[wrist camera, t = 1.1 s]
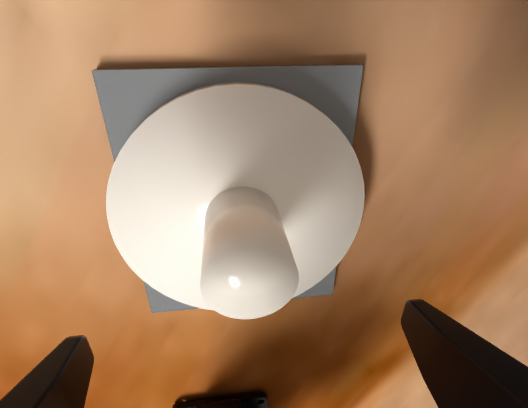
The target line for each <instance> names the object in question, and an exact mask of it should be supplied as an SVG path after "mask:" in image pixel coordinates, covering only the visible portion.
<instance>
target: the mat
mask: <svg viewBox="0 0 528 408" xmlns="http://www.w3.org/2000/svg"><path fill="white" fill-rule="evenodd" d="M362 72H363V65H360V64H357V65H302V66H248V67H193V68H139V69H95V70H92V74H93V78H94V82H95V86H96V90H97V94H98V98H99V102H100V106H101V110H102V114H103V118H104V122H105V126H106V130H107V134H108V138H109V142H110V146H111V150H112V154H113V158H114V162H115V160H116V158H117V156H118V154H119V152H120V150H121V149H122V147H123V146H124V144H125V143H126V141H127V140H128V139H129V137H130V136H131V134H132V133H133V132H134V131H135V130H136V129H137V128H138V126H139V125H140V124H141V123H142V122H143V121H144V120H145V119H146V118H147V117H148V116H149V115H150V114H152V113H153V112H154V111H155V110H157V109H158V108H159V107H161V106H162V105H163V104H165V103H167V102H168V101H170V100H172V99H174V98H175V97H177V96H179V95H181V94H184V93H186V92H189V91H192V90H194V89H197V88H201V87H205V86H209V85H213V84H220V83H231V82H242V83H256V84H262V85H267V86H272V87H275V88H278V89H281V90H284V91H287V92H290V93H292V94H294V95H296V96H298V97H300V98H301V99H303V100H305V101H307V102H308V103H310V104H311V105H312V106H314V107H315V108H317V109H318V110H319V111H321V112H322V113H323V114H325V115H326V116H327V117H328V118H329V119H330V120H331V121H332V122H333V123H334V124H335V125H336V126H337V127H338V128H339V129H340V130H341V131H342V133H343V134H344V135H345V137H346V138H347V139H348V141H349V142H350V144H351V146H352V147H353V139H354V132H355V124H356V117H357V109H358V102H359V94H360V87H361V79H362ZM335 274H336V267H335V268H334V269H333V270H332V271H331V272H330V273H329V274H328V275H327V276H326V277H325V278H323V279H322V280H321V281H320V282H318V283H317V284H316V285H314V286H313V287H311V288H310V289H308V290H306V291H305V292H303V293H301V294H300V295H298V296H296V297H293V298H291V299H294V298H304V297H314V296H323V295H333V288H334V281H335ZM144 284H145V288H146V292H147V296H148V300H149V304H150V308H151V312H152V313H157V312H167V311H177V310H186V309H196V308H198V307H194V306H190V305H187V304H184V303H181V302H178V301H176V300H174V299H172V298H169V297H167V296H165V295H163V294H162V293H160V292H159V291H157V290H155V289H154V288H152V287H151V286H150V285H148V284H147V283H146V282H144Z"/></svg>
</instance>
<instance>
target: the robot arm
mask: <svg viewBox="0 0 528 408" xmlns="http://www.w3.org/2000/svg"><path fill="white" fill-rule="evenodd" d="M401 325H402V329H403V331H404V334H405V336H406V338H407V341H408V343H409V346H410V348H411V350H412V353H413V355H414V358H415V360H416V363H417V365H418V367H419V370H420V372H421V374H422V377H423V379H424V381H425V383H426V385H427V387H428V389H429V391H430V393H431V394H432V396H433V398H434V400H435V402H436V404H437V406H438V408H528V367H527V366H526V365H524V364H522V363H521V362H519V361H518V360H516V359H515V358H513V357H511V356H510V355H508V354H507V353H505V352H504V351H502V350H501V349H499V348H497V347H496V346H494V345H493V344H491V343H490V342H488V341H486V340H485V339H483V338H482V337H480V336H479V335H477V334H476V333H474V332H472V331H471V330H469V329H468V328H466V327H465V326H463V325H461V324H460V323H458V322H457V321H455V320H454V319H452V318H451V317H449V316H447V315H446V314H444V313H443V312H441V311H440V310H438V309H436V308H435V307H433V306H432V305H430V304H429V303H427V302H426V301H424V300H422V299H414V300H408V301H407V302H406V304H405V307H404V311H403V314H402V318H401ZM93 363H94V356H93V353H92V350H91V348H90V345H89V343H88V340H87V338H86V337H85V336H84V335H78V336H70V337H67V338H66V339H64V340H63V341H62V342H61V343H60V344H59V345H58V346H57V347H56V348H55V349H54V350H53V351H52V352H51V353H50V354H48V355H47V356H46V357H45V358H44V359H43V360H42V361H41V362H40V363H39V364H38V365H37V366H36V367H35V368H34V369H33V370H32V371H31V372H30V373H28V374H27V375H26V376H25V377H24V378H23V379H22V380H21V381H20V382H19V383H18V384H17V385H16V386H15V387H14V388H13V389H12V390H11V391H10V392H8V393H7V394H6V395H5V396H4V397H3V398H2V399H1V400H0V408H84V405H85V401H86V396H87V391H88V387H89V382H90V378H91V373H92V368H93ZM173 408H268V397H267V393H265V392H255V393H247V394H240V395H233V396H225V397H218V398H210V399H203V400H195V401H188V402H180V403H176V404H174V405H173Z"/></svg>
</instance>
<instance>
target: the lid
mask: <svg viewBox="0 0 528 408" xmlns="http://www.w3.org/2000/svg"><path fill="white" fill-rule="evenodd" d="M364 200H365V192H364V180H363V175H362V170H361V167H360V164H359V161H358V158H357V156H356V153H355V152H354V150H353V148H352V146H351V144H350V142H349V141H348V139H347V138H346V137H345V135H344V134H343V133H342V131H341V130H340V129H339V128H338V127H337V126H336V125H335V124H334V123H333V122H332V121H331V120H330V119H329V118H328V117H327V116H326V115H325V114H323V113H322V112H321V111H319V110H318V109H317V108H315V107H314V106H312V105H311V104H310V103H308V102H307V101H305V100H303V99H301V98H300V97H298V96H296V95H294V94H292V93H290V92H287V91H284V90H281V89H278V88H275V87H272V86H267V85H262V84H256V83H242V82H231V83H220V84H213V85H209V86H205V87H201V88H197V89H194V90H192V91H189V92H186V93H184V94H181V95H179V96H177V97H175V98H174V99H172V100H170V101H168V102H167V103H165V104H163V105H162V106H161V107H159V108H158V109H157V110H155V111H154V112H153V113H152V114H150V115H149V116H148V117H147V118H146V119H145V120H144V121H143V122H142V123H141V124H140V125H139V126H138V128H137V129H136V130H135V131H134V132H133V133H132V134H131V136H130V137H129V139H128V140H127V141H126V143H125V144H124V146H123V147H122V149H121V150H120V152H119V154H118V156H117V158H116V160H115V162H114V165H113V167H112V170H111V174H110V177H109V180H108V186H107V194H106V213H107V219H108V224H109V229H110V232H111V235H112V237H113V240H114V243H115V245H116V247H117V248H118V250H119V252H120V254H121V256H122V257H123V259H124V260H125V261H126V263H127V264H128V265H129V267H130V268H131V269H132V270H133V271H134V272H135V273H136V274H137V275H138V276H139V277H140V278H141V279H142V280H143V281H144V282H146V283H147V284H148V285H150V286H151V287H152V288H154V289H155V290H157V291H159V292H160V293H162V294H163V295H165V296H167V297H169V298H172V299H174V300H176V301H178V302H181V303H184V304H187V305H190V306H194V307H198V308H202V309H208V310H215V311H216V312H218V313H220V314H222V315H224V316H227V317H230V318H235V319H255V318H260V317H264V316H267V315H269V314H272V313H274V312H276V311H277V310H279V309H281V308H282V307H283V306H285V305H286V304H287V303H288V302H289V301H290V299H291V298H293V297H296V296H298V295H300V294H301V293H303V292H305V291H306V290H308V289H310V288H311V287H313V286H314V285H316V284H317V283H318V282H320V281H321V280H322V279H323V278H325V277H326V276H327V275H328V274H329V273H330V272H331V271H332V270H333V269H334V268H335V267H336V266H337V265H338V263H339V262H340V261H341V260H342V258H343V257H344V256H345V254H346V253H347V251H348V250H349V248H350V246H351V244H352V243H353V241H354V239H355V237H356V234H357V232H358V229H359V226H360V223H361V219H362V215H363V210H364Z"/></svg>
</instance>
